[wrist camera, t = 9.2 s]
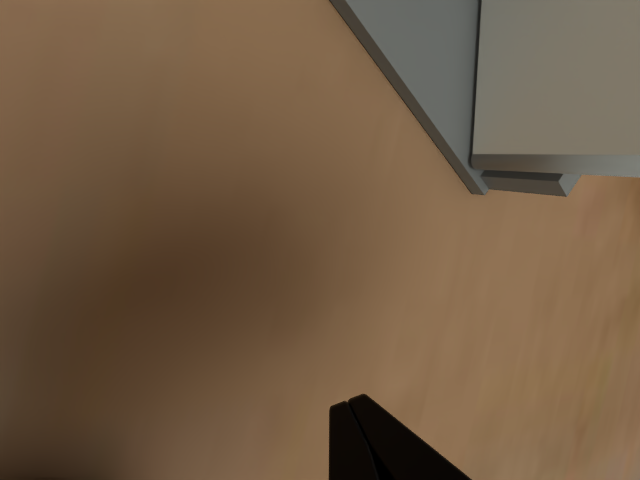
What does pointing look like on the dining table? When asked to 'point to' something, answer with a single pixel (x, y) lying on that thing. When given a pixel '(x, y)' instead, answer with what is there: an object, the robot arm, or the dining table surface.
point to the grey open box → (439, 79)
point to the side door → (558, 87)
